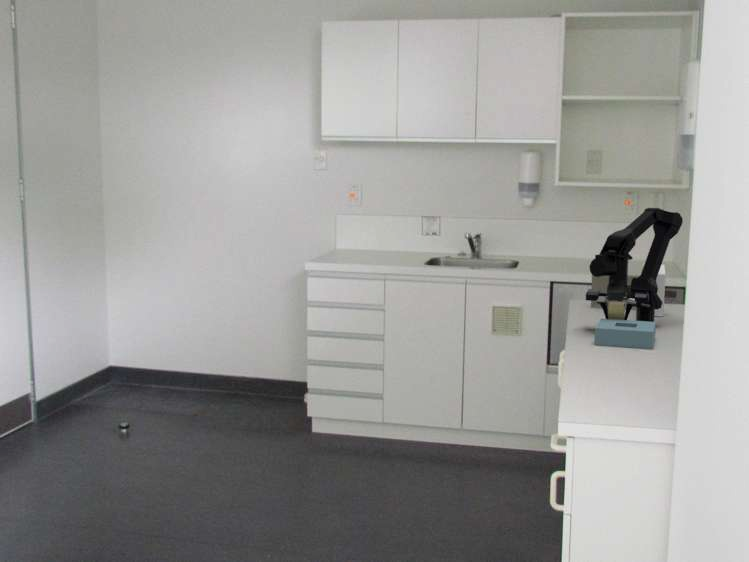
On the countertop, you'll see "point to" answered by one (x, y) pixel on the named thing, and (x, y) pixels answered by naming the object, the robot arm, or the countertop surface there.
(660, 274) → the milk carton
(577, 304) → the countertop surface
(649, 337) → the hole block
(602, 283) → the laptop
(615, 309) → the brass pin
